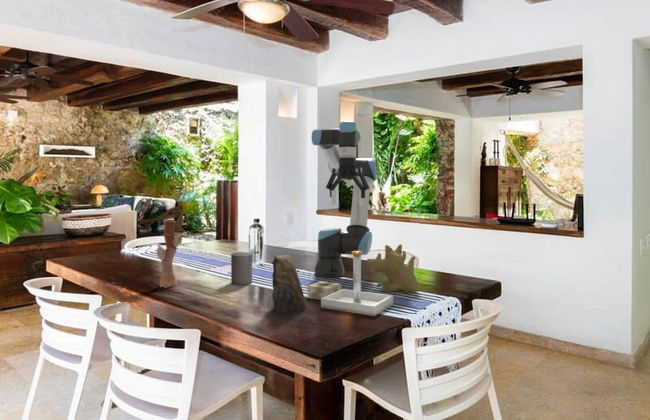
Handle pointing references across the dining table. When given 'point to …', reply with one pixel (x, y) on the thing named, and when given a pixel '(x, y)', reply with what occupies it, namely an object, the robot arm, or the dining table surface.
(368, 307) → the tray
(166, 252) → the abstract sculpture
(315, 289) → the pin block
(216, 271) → the dining table surface
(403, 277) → the decorative coral
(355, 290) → the steel pin
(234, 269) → the pillar candle
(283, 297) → the brown rock
